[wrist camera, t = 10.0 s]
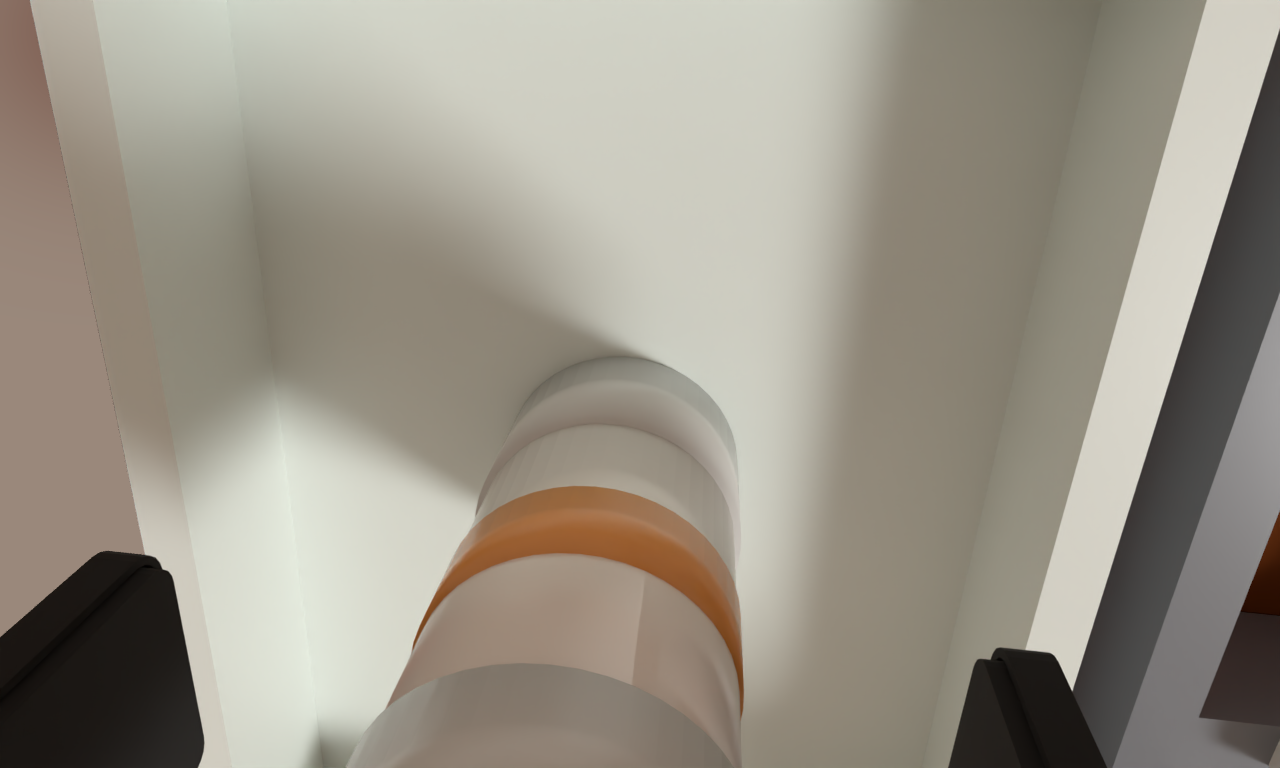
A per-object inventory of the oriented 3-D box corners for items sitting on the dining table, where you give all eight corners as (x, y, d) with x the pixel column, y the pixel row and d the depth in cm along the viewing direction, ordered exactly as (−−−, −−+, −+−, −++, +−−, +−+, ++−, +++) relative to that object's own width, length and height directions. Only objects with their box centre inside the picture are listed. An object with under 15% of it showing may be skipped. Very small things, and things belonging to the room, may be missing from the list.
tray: (192, -141, 14) (-10, -189, 10) (1160, -99, 12) (1329, -134, 9) (311, 753, 21) (219, 915, 17) (928, 829, 20) (969, 1020, 16)
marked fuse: (508, 347, 15) (182, 883, 6) (749, 366, 15) (799, 949, 6) (508, 551, 17) (250, 1227, 7) (727, 570, 16) (739, 1291, 7)
